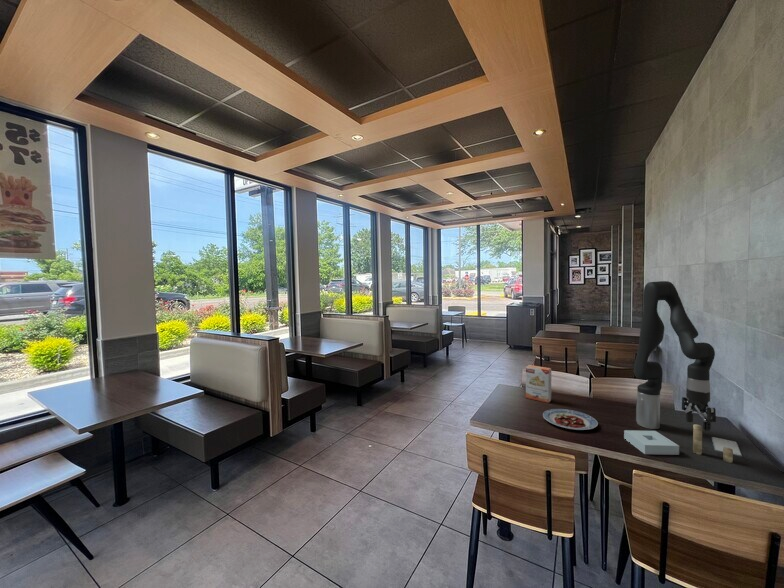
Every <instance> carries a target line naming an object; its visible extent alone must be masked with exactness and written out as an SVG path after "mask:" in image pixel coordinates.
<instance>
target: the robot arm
mask: <svg viewBox="0 0 784 588" xmlns="http://www.w3.org/2000/svg"><path fill="white" fill-rule="evenodd" d="M642 293H643V294H642V295H643V297H642V301H643V302H642V306H643V307H642V316H641V317H642V318H641V324H640V331H639V340H638V348H637V352H636V356H635V360H634V365H633V375H634V376H635V378H637V379H638V380H645V382H644V383H641V384H638V385H637V388H636V389H637V390H636V391H637V393H636V394H637V395H636V396H637V399H636V401H637V402H636V404H635V407H636V408H635V413H636V414H635V422H636V423H637V425H638V426H641V427H643V428H646V429H651V430H657V429H658V430H659V429H660V426H661V417H660V416H661V391H662V388H663V387H662V385H663V373H664V372H663V368H662V365H661V364H660V363H659V362H657V361H650V360H649V357H650V356H651V354H652V353H653V351H655V350H656V349H657V348H658V347H659V346H660V344H661V343H662V342H663V340H664V337H665V324H664V322H663V320H662V319H661V317H660V315H659V312H658V304H659V301H665V302H666V303H667V305H668V307H669V309H670V314H669V315H670V318H669V321H670V326H671V327H672V329H673V331H674V333H675V334H676V336H677V337H678V341H679V342H678V343H679V345H680V349H681V353H683V355H684V356H686V358H687V359H690V360H694V362H693V363H691V364H690V363H689V364H688V365H687V370H686V371H687V372H686V373H687V374H686V376H687V377H686V384H685V385H686V388H685V389H686V393H685V395H686V396H682V397H681V410H682V411H684V413H685V421H686V422H687V423H693V422H694V414H693V413H697V414H698V416H700V417H701V418H702V420H703V421H702V431H705V432H709V431H711V429H712V428H711V427H712V423H716V422H717V415H716V414H717V413H716V407H711V406H709V402H711V382H710V377H711V376H710V374H711V373H710V370H711V368H712V365H713V362H714V359H715V356H716V351H715V348H714V346H712V345H711V343H708V342H696V341H695V339H696V338H698V336H699V332H698V330H697V328H696V326H695V325H694V323H693V322H692V320H691V319H690V318H689V316H688V313H687V312H686V310H685V307H684V304H683V302H682V300H681V297H680V295H679V292H678V290H677V287H675V285H674V283H673V282H670V281H668V280H667V281H665V280H663V281H651V282H647V283H646V284H645V285H644V288H643V292H642ZM648 360H649V361H648ZM646 380H647V381H646Z"/></svg>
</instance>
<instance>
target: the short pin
mask: <svg viewBox="0 0 784 588" xmlns="http://www.w3.org/2000/svg"><path fill="white" fill-rule="evenodd" d="M733 458H734V455H733V450H732V449H730V448H726V447H724V448H723V452H722V460H723V462H726V463H730V464H731V463H733V460H734V459H733Z"/></svg>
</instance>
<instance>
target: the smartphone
mask: <svg viewBox="0 0 784 588" xmlns="http://www.w3.org/2000/svg"><path fill="white" fill-rule="evenodd" d="M711 441H712V444H713V449H714V451H716V452H719V453H723V448H724V447H726V448H730V449H732V450H733V456H738V457H743V455H742V451H741V449H740V447H739V444H738V442H737V441H734V440H729V439H725V438H721V437H717V436H716V437H715V436H712V437H711Z"/></svg>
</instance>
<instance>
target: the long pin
mask: <svg viewBox="0 0 784 588" xmlns="http://www.w3.org/2000/svg"><path fill="white" fill-rule="evenodd" d="M692 427H693V428H692V429H693V430H692V432H693V433H692V434H693V435H692V453H694V454H695V453H696V454H695V455H701V456H702V454H703V453H702V452H703V425H700V424H697V423H696V424H693V425H692Z"/></svg>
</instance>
